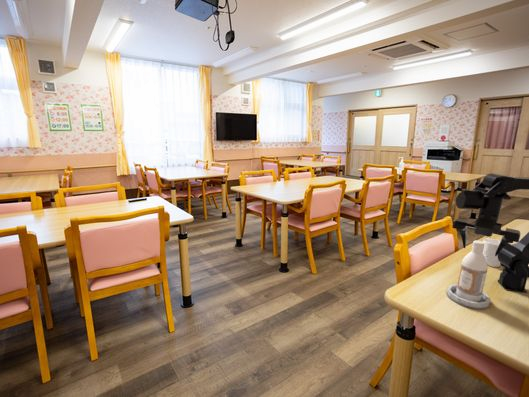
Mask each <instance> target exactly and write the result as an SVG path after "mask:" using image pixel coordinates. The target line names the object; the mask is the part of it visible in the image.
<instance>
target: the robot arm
mask: <svg viewBox="0 0 529 397" xmlns="http://www.w3.org/2000/svg"><path fill="white" fill-rule="evenodd" d="M518 190H519V191H520V190H529V176H528V177H524V176H523V177H521V176H520V177H517V176H515V177H514V176H510V175H509V176H508V175H503V174H498V173H488V174H486V175H485V176H484V177H483V178H482V180H481V181H480V182H479V183H478V184H477V185H476V186H475V187H473V189H466V188H461V190H460V192H459V193H458V194H457V196H456V197H455V206H456V208H458V209H460V210H461V209H463V210H478V212H477V218H476V219H475V222H474V223H471V222H469V220H468V219H464V218H459V217H457V218H456V219H454V220H453V223H452V228H453V229H455V231H456V232H458V233H459V235H460V236H461V242H462V246H463V249H465V248H466V245H467V242H468V241H467V240H468V239H467V238H468V230H474V234H476V235H478V236H479V235H480V236H485V237H486V238H488V237H489V238H491V237H492V236H493V235H498V236H502V237H501V239H500V243H499V246H498V248H497V250H496V253H495V256H498V260H499V262H500V265H501V266H500V267H502V268H503V269H502V270H501V271H500V274H499V278H498V280H497V282H498V283H499V285H500V286H502V287H503V289H504V290H506V291H513V292H520V293H526V294H527V293H528V290H526V289H525V288H526V285H527V281H528V279H529V231H528V232H527V233H526V234H525V235H524V236H523V237H522V238H521V231H520V230H517V229H515V228H514V229H513V228H508V227H506V228H505V230H503V229H502V226H503V224H502V223H499V216H500V213H501V208H502V206H503V202H504V200H511V199H512V197H511V196H509V194H508V193H510V192H515V191H518ZM520 238H521V239H520Z"/></svg>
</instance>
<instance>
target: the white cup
mask: <svg viewBox="0 0 529 397" xmlns="http://www.w3.org/2000/svg"><path fill="white" fill-rule="evenodd" d="M500 241H501V239H497V238H496V239H495V238H491V237H489V238H488V237H486V238H483V239H482V242H484V243H485V244H484V249H483V255H484V257H485V259H486V261H487V266H489V267H493V268H498V267H499V268H500V267H502V266H501V265H500V262H499V260H498V256H495V253H496V250H497V248H498V246H499V243H500Z"/></svg>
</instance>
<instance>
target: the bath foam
mask: <svg viewBox="0 0 529 397" xmlns="http://www.w3.org/2000/svg"><path fill="white" fill-rule="evenodd" d="M484 244H485V243H484V242H483V240H482V241H481V240H473V242H472V246H471V251H469V252H468V253H467V254H466V255H465V256H464V257H463V259H462V261H461V265H460V270H459V276H458V280H457V284H458V285H457V290H456V294H457V295H458V296H459V297H460V298H463V299H465V300H468V301H473V302H478V301H480V300H481V296H482V292H484V287H485V282H486V278H487V272H488V268H489V267H488V265H487V261H486V259H485V257H484V255H483V249H484Z"/></svg>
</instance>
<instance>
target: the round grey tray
mask: <svg viewBox="0 0 529 397" xmlns="http://www.w3.org/2000/svg"><path fill="white" fill-rule="evenodd" d="M457 285H458V283H455V284H454V283H453V284H449V286H448V287H447V288H446V289H447V290H446V296H447V298H448V299H450V300H451V301H453V302H454V303H455V304H457V305H460V306H463V307H466V308H468V309H474V310H486V309H488V308H490V307H489V306H490V302H491V298H490V297H489V295H488V294H487V293H486V292H484V291H483V292H482V296H481V300H480V301H478V302H473V301H468V300H465V299H463V298H460V297H459V296H458V295H457V294H456V290H457Z"/></svg>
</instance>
